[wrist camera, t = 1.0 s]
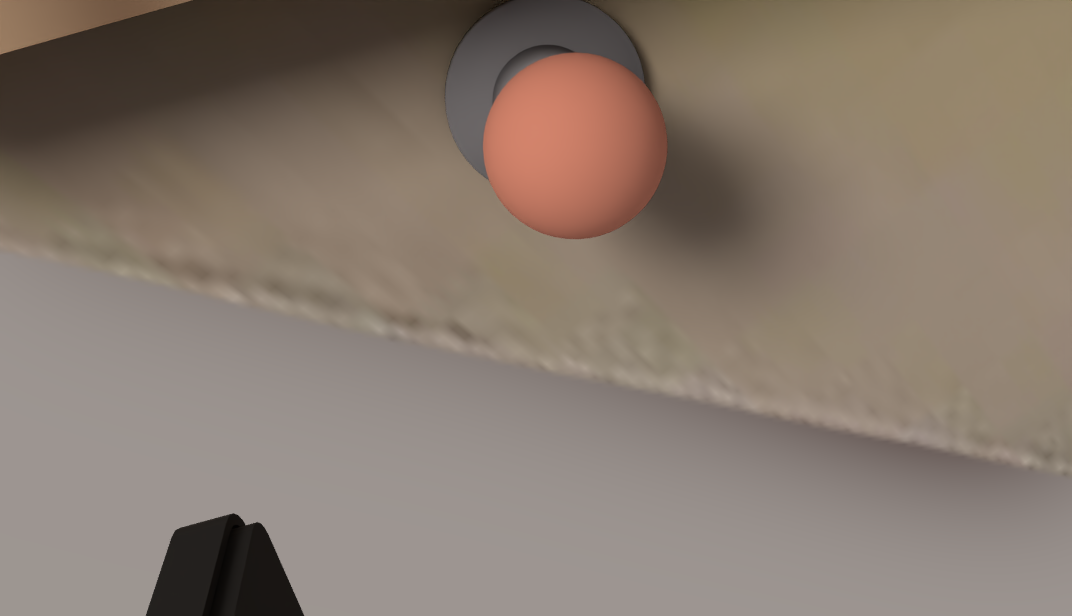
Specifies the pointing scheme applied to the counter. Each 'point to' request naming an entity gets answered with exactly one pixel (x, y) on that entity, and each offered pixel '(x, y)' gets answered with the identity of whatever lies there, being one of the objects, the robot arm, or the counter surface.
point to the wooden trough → (64, 18)
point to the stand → (521, 58)
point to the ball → (575, 145)
